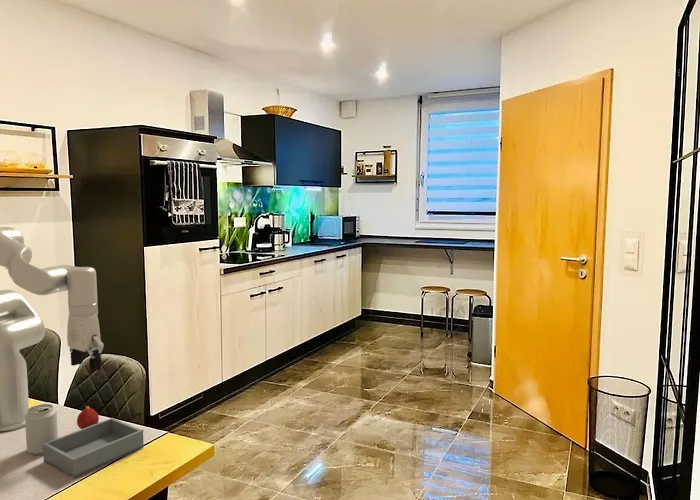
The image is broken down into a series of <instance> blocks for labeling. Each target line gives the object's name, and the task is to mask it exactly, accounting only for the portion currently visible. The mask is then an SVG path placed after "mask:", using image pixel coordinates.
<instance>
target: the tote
mask: <svg viewBox="0 0 700 500" xmlns="http://www.w3.org/2000/svg"><path fill="white" fill-rule="evenodd" d="M143 448H144V430H143V429H140V428H137V427H135V426H133V425H131V424H129V423H126V422H123V421H121V420H119V419H116V418H114V417H110V418H108V419H105V420H102V421H99V422H98V423H97V424H94V425H92V426H89V427H86V428H84V429H79V430H76V431H73V432H71V433H68V434H65V435H63V436H60V437H58V438H57V439H54V440H52V441H49V442H46V443H44V444H43V454H42V455H43V463H45V464H47V465H48V466H50V467H52V468H53V469H55V470H57V471H59V472H61V473H62V474H64V475H66V476H68V477H69V478H71V479H73V480H75V479H77V478H80V477H82V476H83V475H86V474H89V473H91V472H92V471H95V470H97V469H100V468H102V467H104V466H106V465H108V464H110V463H113V462H115V461H117V460H119V459H122V458H125V456H128V455H131V454H133V453H135V452H137V451H140V450H142V449H143Z"/></svg>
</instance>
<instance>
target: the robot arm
mask: <svg viewBox="0 0 700 500" xmlns="http://www.w3.org/2000/svg"><path fill="white" fill-rule="evenodd" d="M32 251H33V250H32V249H31V248H30V246H28V245H26V244H25V239H24V236H23V234H22V233H21V232H20V231H19V230H18V229H17V228H14V227H10V226H1V227H0V267H2V268H4V269H5V270H7V272H8V275H9V277H10V278H11V280H12V282H13V283H14V284H15V285H16V286H17V287H19V288H22V289H23V290H25V291H27V292H29V293H31V294H34V295H37V296H48V295H52V294H56V293H61V292H62V293H63V292H66V291H67V302H68V303H67V304H68V318H67V327H66V330H67V334H66V339H67V346H68V347H69V352H70V363H71V364H70V365H71V366H72V367H73V366H77V365H82V364H83V363H84V362H83V360H84V359H83V352H87V353H88V354H89V357H90V358H88V359H89V363H88V364H89V366H88V367H89V372H90V373H93V372H97V371H100V370H102V356H103V351H104V346H105V344H104V343H103V342H102V340H101V331H100V323H99V321H100V320H99V317H98V314H99V306H98V305H99V304H98V286H97V284H98V283H97V280H98V279H97V271H96V269H95V268H94V267H91V266H74V265H69V264H61V265H58V266H56V265H55V266H49V267H44V268H40V267H37V266H35V265H33V264H31V263H30V262H31V260H32V257H33V252H32ZM45 336H46V326H45V324H44V321H43V320H42V319H41V318H40V316H39V315H38V313H37V312H36V311H35V309H34V308H33V307H32V306H31V304H30V303H29V302H28V301H27V300H26V298H25V297H24V296H23V295H22V294H20V293H19V292H17V291H16V290H12V289H2V290H0V432H7V431H15V430H17V429H21V428H24V427H26V425H25V415H26V414H27V413H28V412H27V410H28V409H29V408H30V404H29V386H28V385H29V384H28V370H27V367H28V366H27V361H26V360H25V358H24V356H23V355H22V354H21V353H20V350H22V349H25V348H27V347H31V346H34V345H35V344H36V345H37V344H38V343H40V342H41V341H42V340H44V338H45ZM93 351H94V352H93Z"/></svg>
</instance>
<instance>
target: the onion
mask: <svg viewBox="0 0 700 500" xmlns="http://www.w3.org/2000/svg"><path fill="white" fill-rule="evenodd" d="M99 419H100V416H99V413H98V412H97V411H96V410H95V409H93V408H91V407H90V406H89V405H88V406H85V407H84V409H83V410H81V411H80V412H79V414H78V416H77V418H76V425H77V427H78V428H79V430H81V429H84V428H86V427H89V426H92V425H94V424H97V423H99V422H100V421H99Z"/></svg>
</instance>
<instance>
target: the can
mask: <svg viewBox="0 0 700 500" xmlns="http://www.w3.org/2000/svg"><path fill="white" fill-rule="evenodd" d="M27 412H28V413H27V414H26V415H25V425H26V426H25V440H26V452H28V453H30V454H31V455H35V456H36V455H37V456H38V455H43V444H44V443H46V442H49V441H52V440H54V439H57V438H59V434H58V433H59V432H58V430H59V429H58V414H57V413H58V412H57V409H56V408H54V405H53V404H50V403H41V404H37V405H34V406H31V407H29V409H28V410H27Z"/></svg>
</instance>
